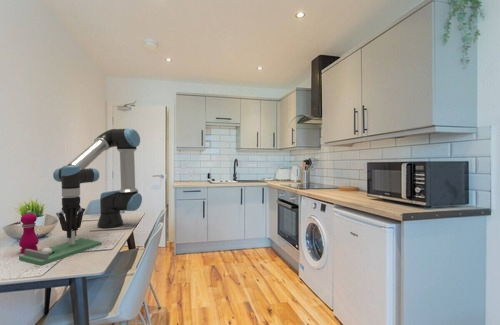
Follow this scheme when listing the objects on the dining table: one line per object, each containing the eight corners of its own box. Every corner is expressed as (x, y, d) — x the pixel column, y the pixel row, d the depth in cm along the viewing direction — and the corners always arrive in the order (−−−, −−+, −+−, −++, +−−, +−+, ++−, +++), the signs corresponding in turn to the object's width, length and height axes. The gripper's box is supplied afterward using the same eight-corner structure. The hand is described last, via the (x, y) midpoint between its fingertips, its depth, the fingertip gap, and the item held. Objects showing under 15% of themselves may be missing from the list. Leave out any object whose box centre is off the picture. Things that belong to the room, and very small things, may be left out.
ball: (47, 246, 120) (38, 249, 117) (53, 246, 119) (44, 249, 116) (48, 255, 120) (39, 258, 117) (54, 254, 119) (45, 257, 115)
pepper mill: (16, 252, 124) (15, 210, 123) (34, 247, 130) (34, 208, 130) (23, 255, 120) (22, 212, 120) (41, 250, 127) (41, 209, 126)
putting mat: (80, 241, 141) (80, 233, 140) (101, 244, 135) (101, 237, 134) (18, 259, 115) (18, 250, 115) (41, 265, 109) (41, 256, 109)
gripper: (79, 194, 135) (79, 238, 136) (52, 198, 123) (52, 246, 124) (88, 195, 132) (89, 240, 133) (62, 199, 120) (62, 249, 121)
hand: (71, 243), depth 128 cm, fingers closed
